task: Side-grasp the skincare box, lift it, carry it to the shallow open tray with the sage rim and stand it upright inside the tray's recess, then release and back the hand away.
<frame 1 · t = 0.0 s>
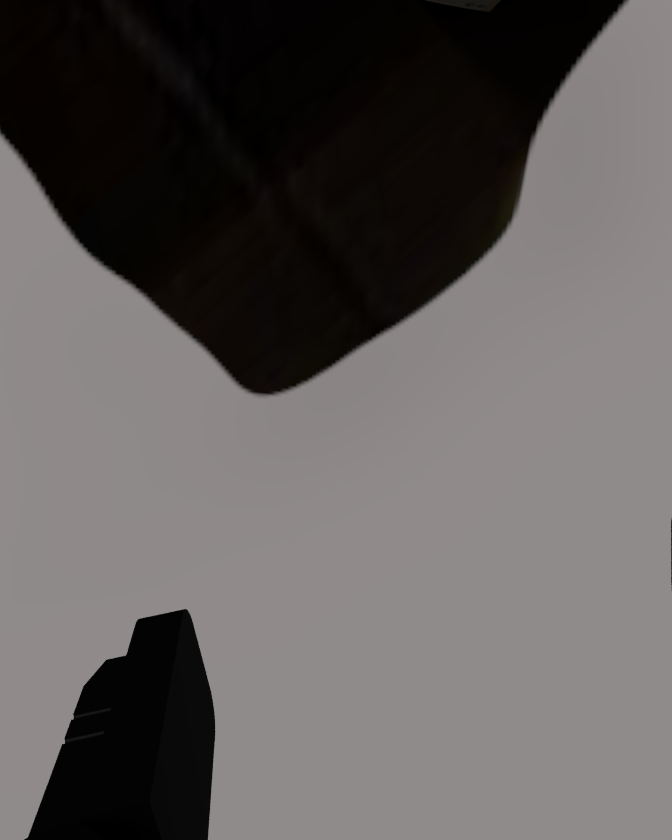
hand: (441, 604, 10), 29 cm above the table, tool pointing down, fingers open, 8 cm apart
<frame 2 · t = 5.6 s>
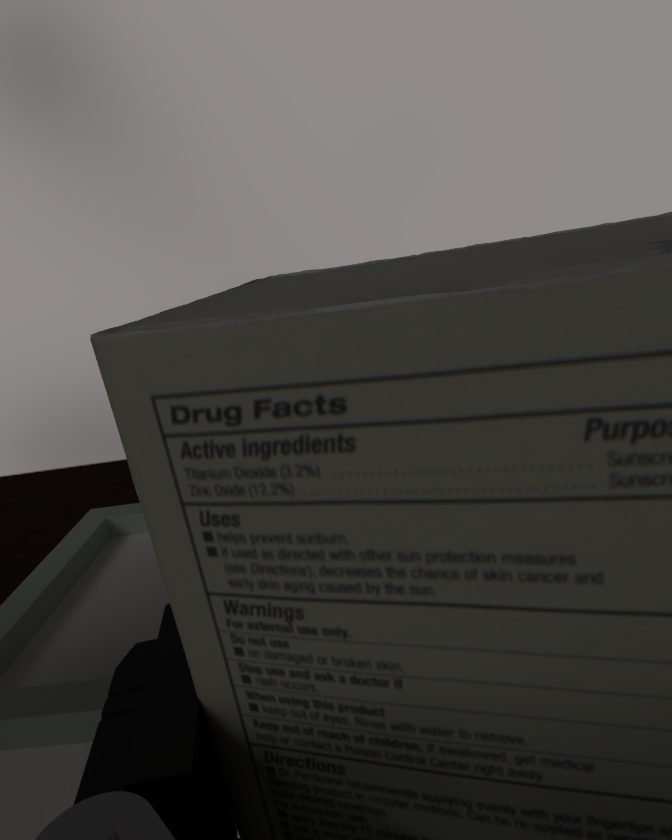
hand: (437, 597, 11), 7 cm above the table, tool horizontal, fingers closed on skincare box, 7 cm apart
shallow open tray: (221, 676, 20), on the table
when the fingers open (10 cm above the table, at t = 10.1 s): skincare box stays where it is, resting on shallow open tray.
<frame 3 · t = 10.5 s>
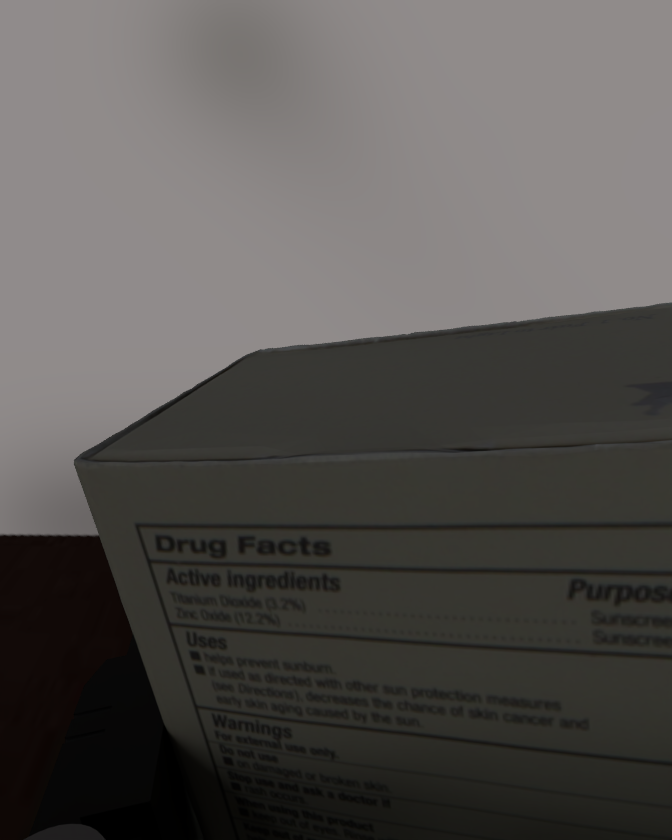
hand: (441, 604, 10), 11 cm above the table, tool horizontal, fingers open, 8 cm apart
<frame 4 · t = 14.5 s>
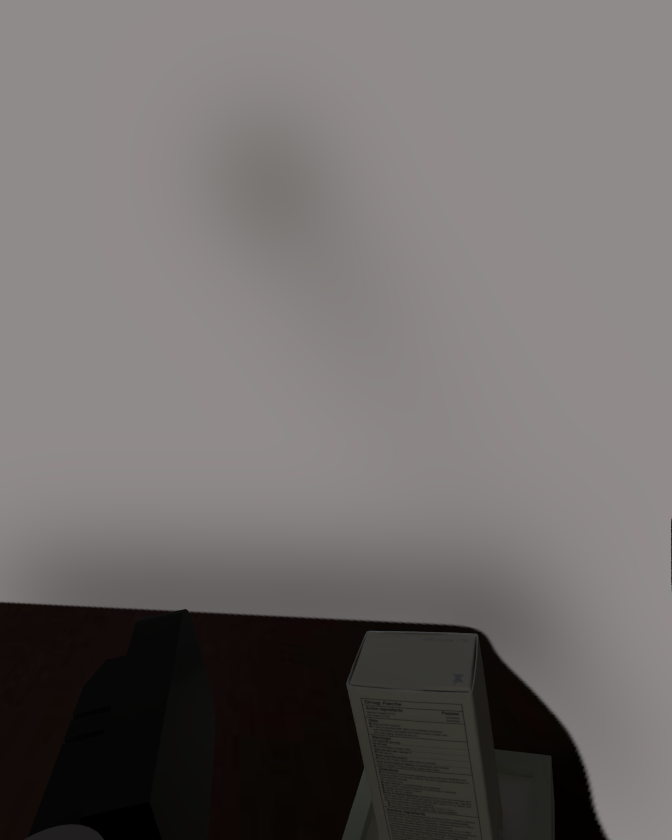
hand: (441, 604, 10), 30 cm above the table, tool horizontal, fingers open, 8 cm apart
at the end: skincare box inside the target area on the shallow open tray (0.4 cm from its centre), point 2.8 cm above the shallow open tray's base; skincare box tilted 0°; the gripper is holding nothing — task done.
